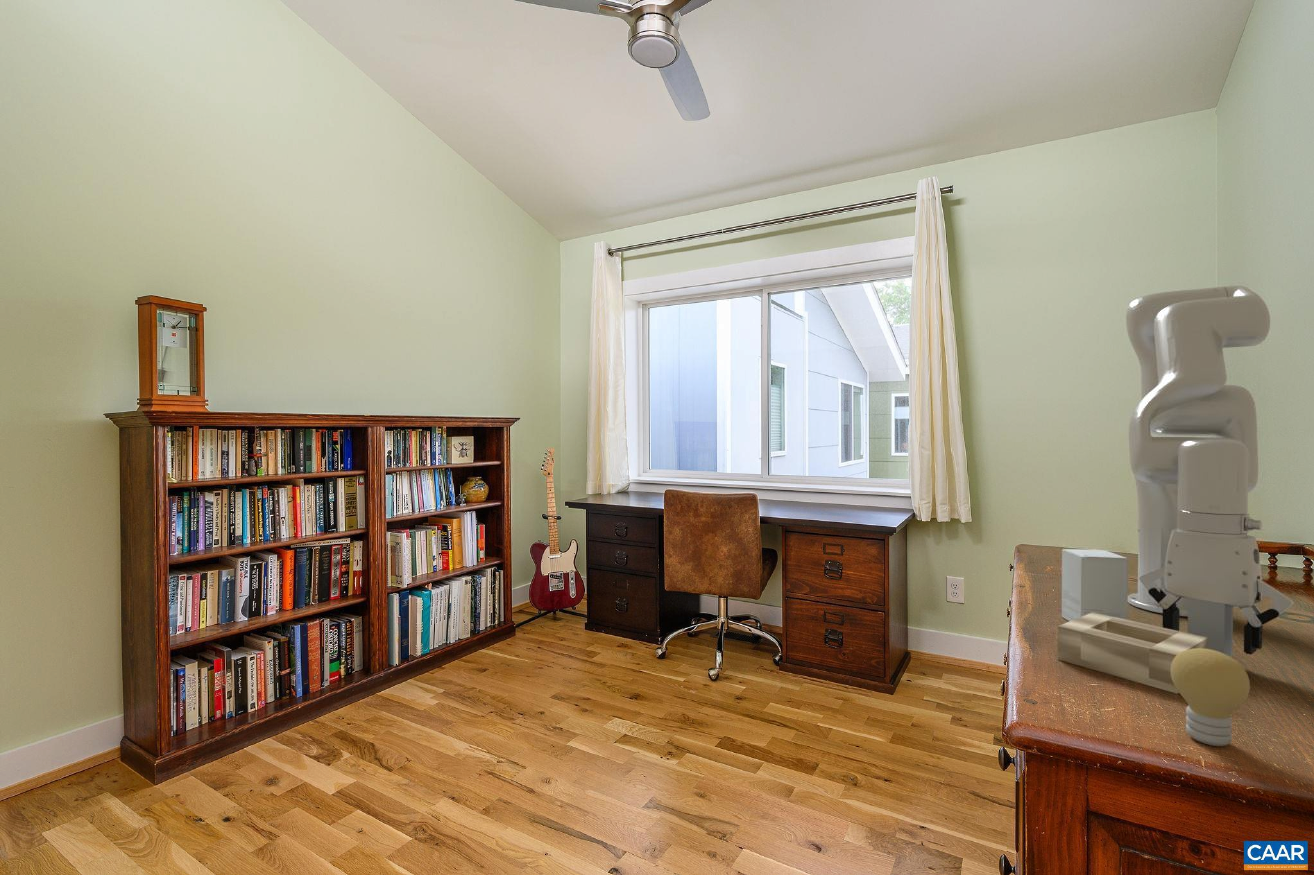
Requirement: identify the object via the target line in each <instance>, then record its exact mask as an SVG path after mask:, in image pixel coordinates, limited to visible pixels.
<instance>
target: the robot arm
mask: <svg viewBox="0 0 1314 875" xmlns="http://www.w3.org/2000/svg"><path fill="white" fill-rule="evenodd" d="M1125 322H1126V323H1125V324H1126V331H1127V334H1128V339H1129V342H1130V343H1131V346H1132V348H1133V350H1134V352H1135V354H1136V357H1137V358H1138V361H1139V365H1140V372H1141V374H1140V375H1141V377H1140V378H1141V380H1140V381H1141V384H1140V386H1141V400H1140V401H1139V403H1138V404H1137V406H1136V407H1135V408H1134V411H1133V412H1132V414H1131V417H1130V419H1129V424H1128V425H1129V426H1128V443H1129V446H1128V447H1129V462H1130V463H1129V464H1130V468H1131V471H1132V473H1133V475H1134V480H1135V487H1136V493H1137V505H1138V506H1137V507H1138V508H1137V511H1138V515H1137V518H1138V520H1137V521H1138V523H1137V524H1138V526H1137V527H1138V530H1137V531H1138V532H1137V533H1138V535H1137V536H1138V537H1137V540H1138V541H1137V551H1138V552H1137V592H1136V593H1135V592H1133V593H1130V594H1128V604H1130V605H1132V606H1134V607H1136V608H1139V609H1141V610H1142V609H1143V610H1146V611H1149V612H1154V613H1159V614H1162V628H1167V629H1172V630H1176V631H1180V617H1186V618H1188V597H1191V598H1196V599H1201V600H1207V601H1212V602H1218V603H1225V605H1226V606H1232V607H1233V608H1237V609H1238V610H1239V611H1240V612H1241V613H1242V615H1243V617H1244V618H1245V619H1246V621H1247V622H1246V623H1247V624H1244V626H1243V652H1244V653H1245V654H1246V655H1250V656H1252V655H1253V654H1254V653H1256V652H1257V650H1261V649H1262V648H1263V630H1264V628H1263V627H1264V625H1265V624H1267V623H1269V622H1271V621H1273V620H1275V619H1277V618H1278V617H1280V616H1281V615H1282V614H1283V613H1284V612H1286V611H1287V610H1288V609H1289V608H1290V607H1292V606H1293V605H1294V600H1293V599H1292V598H1290V597H1289V596H1287V595H1285V594H1284V593H1282V592H1281V591H1279V590H1277V589H1276V588H1274V587H1273V586H1271V585H1270V584H1268V583H1267V582H1266V581H1263V576H1262V566H1261V565H1262V564H1261V559H1260V558H1261V557H1260V552H1259V547H1258V542H1257V539H1256V537H1255V536H1252V535H1248V533H1249V532H1250V531H1254V530H1255V531H1256V530H1257V531H1259V530H1260V531H1261V530H1262V526H1263V523H1262V520H1261V519H1260V520H1258V519H1257V520H1256V519H1254V518H1252V517H1251V516H1250V514H1249V513H1248V510H1249V508H1248V506H1249V505H1248V504H1249V503H1248V502H1249V501H1248V500H1249V497H1248V496H1249V495H1248V494H1249V493H1250V492H1252V491H1253V490H1254V489H1255V487H1256V486H1257V484H1258V479H1259V452H1258V451H1259V450H1258V427H1257V426H1258V423H1257V410H1256V409H1257V408H1256V403H1255V399H1254V397H1253V395H1252V393H1251V392H1250V391H1249V390H1248V389H1247V388H1245V387H1244V386H1241V385H1235V384H1226V383H1227V377H1228V376H1227V370H1226V363H1225V357H1224V350H1223V349H1224V348H1225V349H1226V348H1227V349H1228V348H1229V349H1230V348H1242V347H1243V348H1244V347H1255V346H1257V345H1260V344H1262V343H1263V342H1264V341H1265V340H1266V338H1267V337H1268V334H1269V332H1270V330H1271V329H1270V328H1271V315H1270V311H1269V308H1268V306H1267V303H1266V302H1265V301H1264V299H1263V298H1262V297H1261V296H1260V295H1259V294H1257V293H1256V292H1254V291H1253V290H1251V289H1250V288H1248V287H1245V286H1243V285H1228V286H1217V287H1208V288H1207V287H1205V288H1197V289H1196V288H1194V289H1184V290H1182V289H1181V290H1171V291H1163V292H1155V293H1152V294H1147V295H1143V296H1139V297H1138V298H1135V299H1134V300H1132V301H1131V302H1130V303H1129V305H1128V306H1127V309H1126V316H1125ZM1151 434H1154V435H1157V436H1152V435H1151ZM1200 436H1201V437H1200ZM1204 436H1205V437H1204ZM1263 596H1265V597H1266V598H1267V599H1269V600H1271V601H1272V603H1273V604H1272V606H1271V607H1269V608H1268V609H1266V610H1264V611H1261V610H1260V609H1259V607H1258V606H1257V604H1258V603H1261V601H1262V598H1263Z"/></svg>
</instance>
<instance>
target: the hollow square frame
mask: <svg viewBox="0 0 1314 875" xmlns="http://www.w3.org/2000/svg"><path fill="white" fill-rule="evenodd" d="M1195 648H1203V649H1208V637H1204V636H1199V635H1194V634H1190V633H1188V632H1185V631H1181V630H1179V631H1176V630H1172V629H1167V628H1163V626H1162V627H1161V626H1157V625H1153V624H1148V623H1142V622H1139V621H1134V620H1130V619H1128V620H1126V619H1121V618H1117V617H1112V616H1108V615H1103V614H1098V613H1094V612H1092V613H1090V614H1087V615H1085V616H1082V617H1080V618H1077V619H1075V620H1072V621H1070V622H1069V621H1067V622H1065V623H1063V624H1060V625H1058V626H1057V660H1058V661H1060V662H1061V661H1062V662H1066V663H1069V664H1073V665H1077V666H1079V667H1084V668H1087V669H1090V670H1094V671H1097V672H1100V673H1103V674H1106V675H1110V676H1115V677H1118V678H1122V679H1124V680H1128V681H1131V682H1135V683H1139V684H1142V685H1146V686H1148V687H1153V688H1156V689H1159V690H1163V691H1166V692H1170V693H1174V694H1175V695H1177V694H1180V693H1179V691H1178V690H1177V688H1176V687H1175V685H1174V683H1173V680H1172V677H1171V664H1172V661H1173V659H1174V658H1175V656H1176V655H1177V654H1179V653H1180V652H1182V651H1185V650H1189V649H1195Z"/></svg>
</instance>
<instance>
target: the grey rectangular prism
mask: <svg viewBox="0 0 1314 875" xmlns="http://www.w3.org/2000/svg"><path fill="white" fill-rule="evenodd" d="M1233 630H1234V607H1232V606H1226V605H1225V603H1218V602H1212V601H1207V600H1201V599H1196V598H1191V597H1188V617H1187V633H1190V634H1194V635H1199V636H1204V637H1208V649H1211V650H1215V651H1218V652H1221V653H1223V654H1225V655H1227V656H1229V657H1231V658H1233V647H1234V646H1233V642H1234V641H1233V638H1234V632H1233Z"/></svg>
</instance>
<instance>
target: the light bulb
mask: <svg viewBox="0 0 1314 875" xmlns="http://www.w3.org/2000/svg"><path fill="white" fill-rule="evenodd" d="M1171 677H1172V680H1173V683H1174V685H1175V687H1176V688H1177V690H1178V691H1179V693H1178V694H1180V696H1182V698H1183V699H1184V700H1185V702H1186V703H1187V704H1188V705H1187V706H1186V708H1185V714H1186V716H1185V732H1187V734H1188V735H1189V736H1190V737H1191V738H1193V740H1195V741H1198V742H1199V743H1203V744H1205V745H1208V746H1214V747H1215V746H1216V747H1226V746H1227V745H1229V744H1231V743H1232V742H1233V741H1232V740H1233V739H1232V738H1233V737H1232V733H1233V732H1232V731H1233V730H1232V724H1233V718H1232V716H1231V715H1230V714H1231V713H1232V712H1233V711H1234V710H1236V709H1237V708H1239V707H1240V706H1241V705H1243V703H1244V702H1245V701H1246V700H1247V698H1248V696H1249V693H1250V690H1251V689H1250V688H1251V684H1250V678H1249V676H1248V673H1247V671H1246V669H1245V668H1244V667H1243V666H1242V664H1240V663H1239V661H1238V660H1236V659H1234V658H1233V657H1232V658H1231V657H1229V656H1227V655H1225V654H1223V653H1221V652H1218V651H1215V650H1211V649H1203V648H1195V649H1189V650H1185V651H1182V652H1180V653H1179V654H1177V655H1176V656H1175V658H1174V659H1173V661H1172V664H1171Z"/></svg>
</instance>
